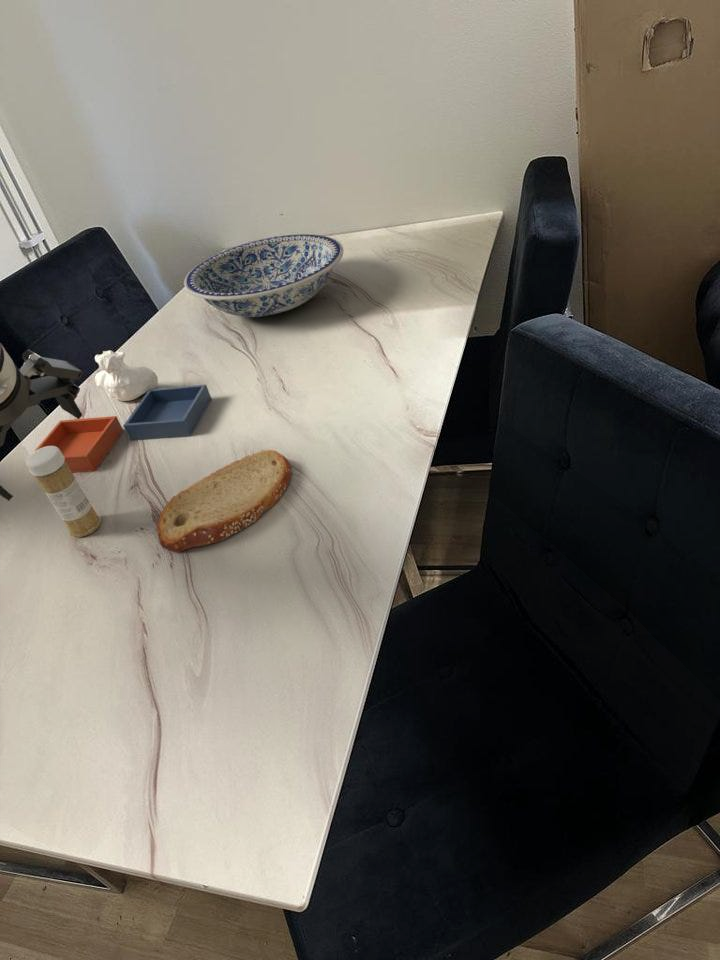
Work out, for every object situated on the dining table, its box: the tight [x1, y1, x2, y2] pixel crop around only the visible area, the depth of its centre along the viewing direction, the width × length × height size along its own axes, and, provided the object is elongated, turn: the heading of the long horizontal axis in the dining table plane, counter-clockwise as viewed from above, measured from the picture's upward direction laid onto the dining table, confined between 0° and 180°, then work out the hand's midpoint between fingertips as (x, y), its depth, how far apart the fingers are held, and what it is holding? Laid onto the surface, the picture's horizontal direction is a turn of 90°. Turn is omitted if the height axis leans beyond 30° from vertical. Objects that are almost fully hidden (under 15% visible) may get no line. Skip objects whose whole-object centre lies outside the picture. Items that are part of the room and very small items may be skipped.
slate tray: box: [122, 384, 212, 441], centre depth 115 cm, size 11×11×3 cm
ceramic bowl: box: [183, 233, 345, 318], centre depth 143 cm, size 34×34×10 cm
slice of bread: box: [156, 449, 292, 553], centre depth 93 cm, size 18×18×4 cm
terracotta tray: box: [34, 415, 125, 473], centre depth 112 cm, size 11×11×3 cm
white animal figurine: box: [94, 350, 159, 402], centre depth 122 cm, size 12×8×11 cm
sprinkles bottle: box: [25, 446, 102, 538], centre depth 92 cm, size 5×5×14 cm
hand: (38, 451), depth 87 cm, fingers open, 13 cm apart
